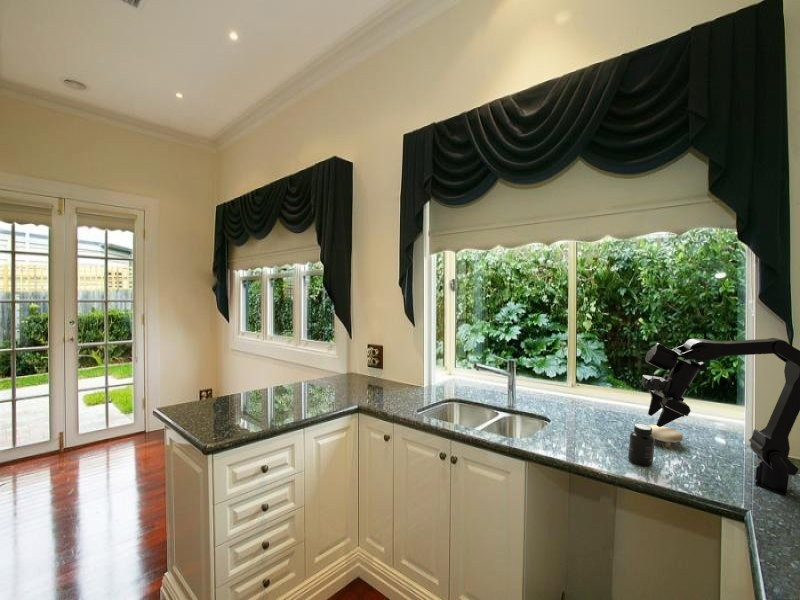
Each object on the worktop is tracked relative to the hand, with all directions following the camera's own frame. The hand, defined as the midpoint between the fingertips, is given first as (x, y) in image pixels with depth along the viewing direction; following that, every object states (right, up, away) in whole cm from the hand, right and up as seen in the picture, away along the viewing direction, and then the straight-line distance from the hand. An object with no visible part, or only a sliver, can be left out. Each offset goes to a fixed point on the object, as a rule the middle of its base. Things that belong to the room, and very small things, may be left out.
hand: (653, 420), depth 119 cm
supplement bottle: (-2, -15, +4) cm, 16 cm away
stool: (+16, -14, +19) cm, 29 cm away
